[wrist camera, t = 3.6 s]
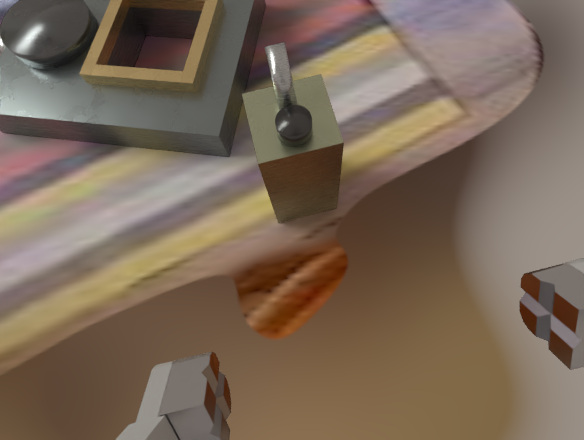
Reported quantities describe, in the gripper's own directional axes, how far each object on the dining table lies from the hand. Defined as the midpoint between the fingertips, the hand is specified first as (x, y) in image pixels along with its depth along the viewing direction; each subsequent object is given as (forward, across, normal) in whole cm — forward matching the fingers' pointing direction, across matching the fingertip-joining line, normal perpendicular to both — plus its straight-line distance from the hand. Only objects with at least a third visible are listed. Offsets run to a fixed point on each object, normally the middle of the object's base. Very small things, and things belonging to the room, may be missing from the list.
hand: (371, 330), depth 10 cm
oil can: (+18, 0, +3) cm, 19 cm away
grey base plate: (+30, +12, -9) cm, 33 cm away
